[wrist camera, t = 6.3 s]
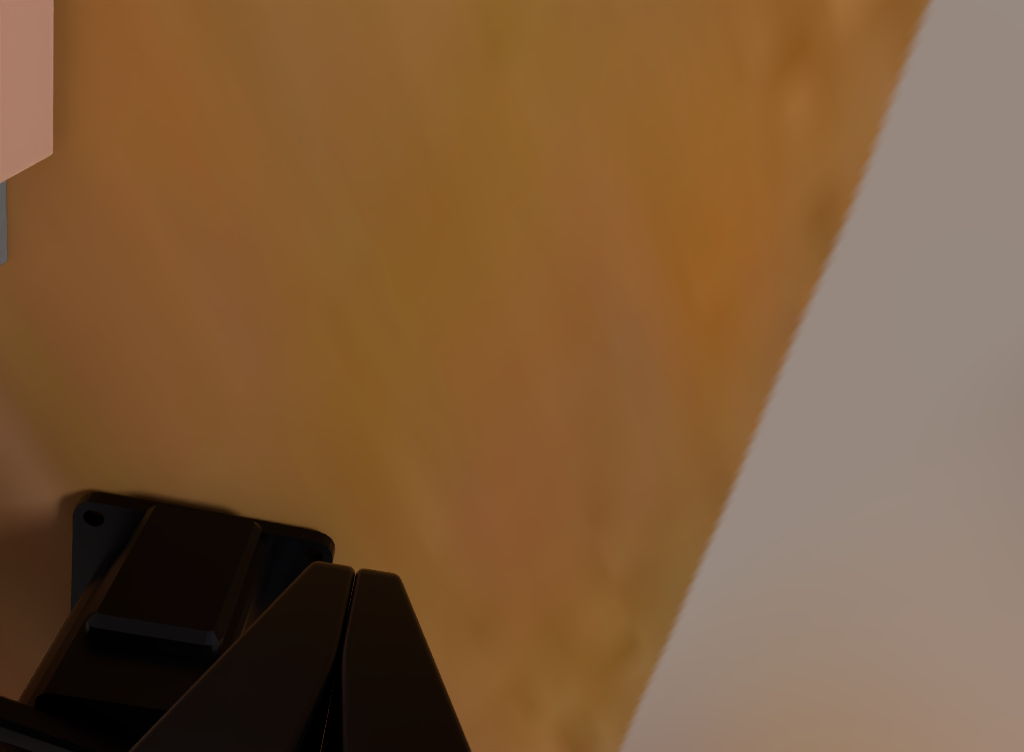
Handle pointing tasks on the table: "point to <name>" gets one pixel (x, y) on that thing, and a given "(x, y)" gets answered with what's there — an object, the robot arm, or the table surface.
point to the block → (25, 84)
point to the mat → (3, 224)
